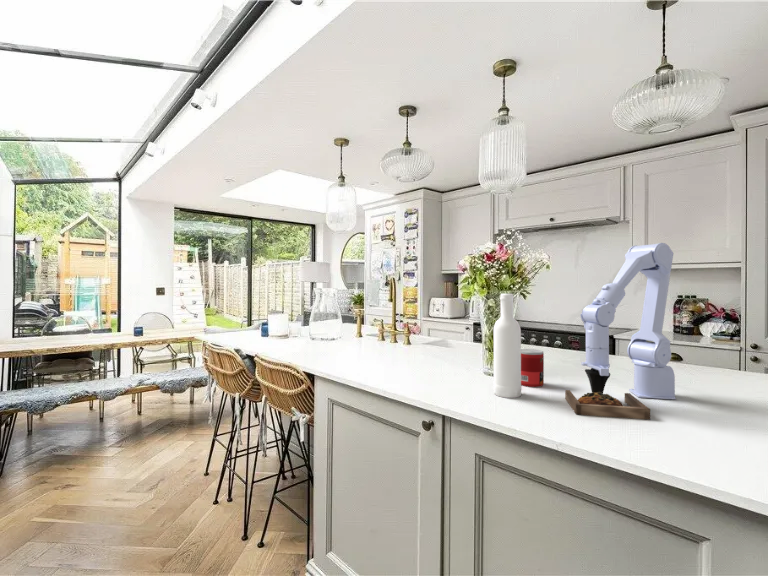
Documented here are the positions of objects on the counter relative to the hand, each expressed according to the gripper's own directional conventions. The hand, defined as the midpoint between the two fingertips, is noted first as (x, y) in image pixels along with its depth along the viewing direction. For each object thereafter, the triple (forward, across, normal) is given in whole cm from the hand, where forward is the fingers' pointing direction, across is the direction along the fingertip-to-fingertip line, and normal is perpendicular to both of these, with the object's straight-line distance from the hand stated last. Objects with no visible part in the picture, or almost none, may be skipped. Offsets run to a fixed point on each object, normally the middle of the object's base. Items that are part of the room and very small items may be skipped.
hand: (597, 396), depth 111 cm
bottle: (+2, -2, -24) cm, 24 cm away
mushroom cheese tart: (+2, +6, -1) cm, 6 cm away
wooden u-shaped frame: (+1, +6, 0) cm, 7 cm away
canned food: (+2, -15, -16) cm, 22 cm away
